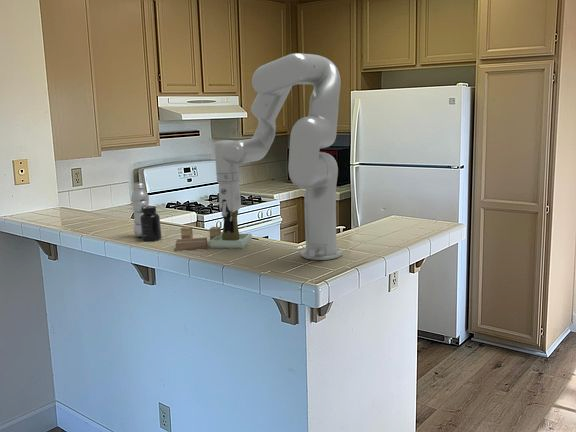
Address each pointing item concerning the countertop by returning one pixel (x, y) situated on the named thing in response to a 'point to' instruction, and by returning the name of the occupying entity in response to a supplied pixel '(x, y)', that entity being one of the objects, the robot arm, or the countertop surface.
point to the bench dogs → (187, 233)
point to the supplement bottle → (150, 224)
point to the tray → (240, 243)
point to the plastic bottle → (139, 205)
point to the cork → (235, 234)
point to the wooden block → (191, 244)
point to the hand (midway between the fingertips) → (231, 230)
